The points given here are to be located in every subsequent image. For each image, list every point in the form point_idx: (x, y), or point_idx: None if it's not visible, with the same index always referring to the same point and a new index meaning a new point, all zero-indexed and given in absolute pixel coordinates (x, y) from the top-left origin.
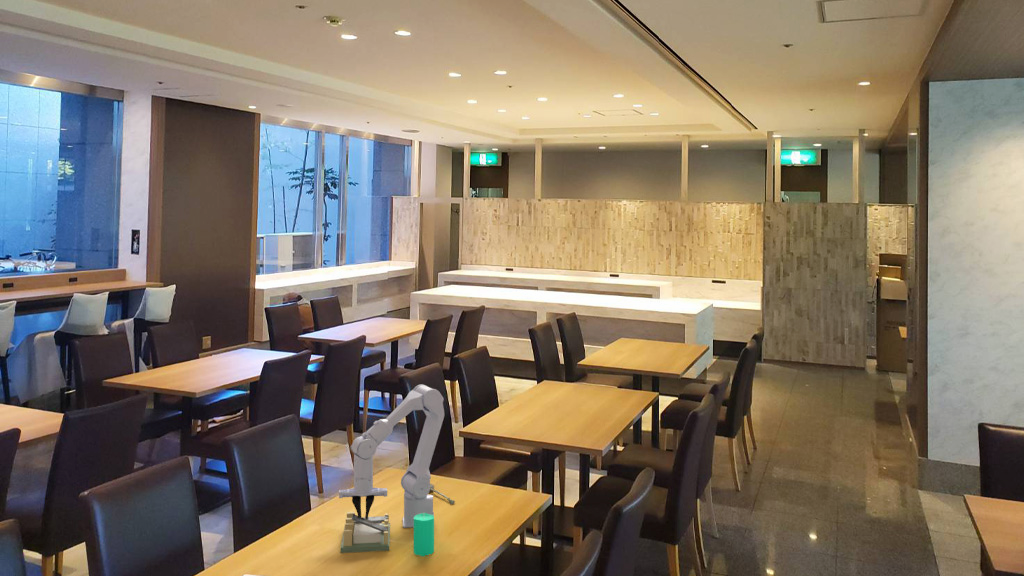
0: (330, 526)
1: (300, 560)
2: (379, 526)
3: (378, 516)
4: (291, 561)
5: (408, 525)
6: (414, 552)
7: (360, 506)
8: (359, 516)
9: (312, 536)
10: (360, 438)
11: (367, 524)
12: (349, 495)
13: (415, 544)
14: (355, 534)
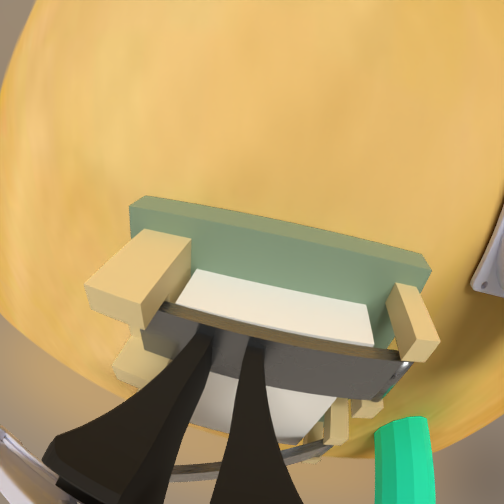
0: (80, 131)
1: (84, 363)
2: (293, 460)
3: (353, 356)
4: (70, 357)
5: (492, 285)
6: (374, 436)
7: (172, 442)
8: (189, 474)
9: (46, 232)
10: None
11: None
12: (50, 481)
13: (375, 458)
14: (195, 420)
